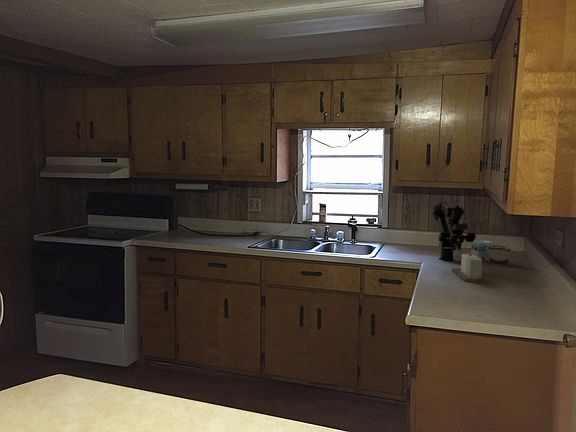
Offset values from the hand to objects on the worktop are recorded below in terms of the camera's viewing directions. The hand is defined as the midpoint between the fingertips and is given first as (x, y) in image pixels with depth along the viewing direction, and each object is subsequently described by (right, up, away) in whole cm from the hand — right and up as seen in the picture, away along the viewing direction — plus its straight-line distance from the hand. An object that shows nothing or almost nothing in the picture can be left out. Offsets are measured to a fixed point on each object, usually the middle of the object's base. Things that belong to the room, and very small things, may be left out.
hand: (459, 250), depth 258 cm
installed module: (-1, -11, -22) cm, 24 cm away
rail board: (-1, -12, -14) cm, 19 cm away
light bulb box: (+22, -8, +26) cm, 35 cm away
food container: (+28, -9, +15) cm, 33 cm away
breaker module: (-1, -11, -15) cm, 18 cm away
